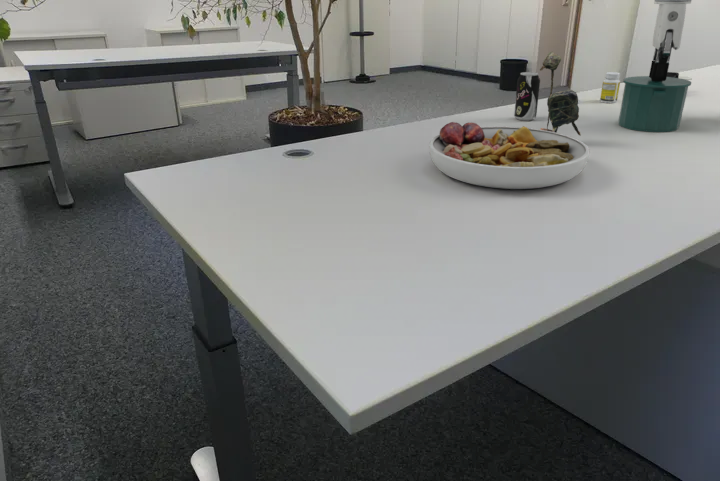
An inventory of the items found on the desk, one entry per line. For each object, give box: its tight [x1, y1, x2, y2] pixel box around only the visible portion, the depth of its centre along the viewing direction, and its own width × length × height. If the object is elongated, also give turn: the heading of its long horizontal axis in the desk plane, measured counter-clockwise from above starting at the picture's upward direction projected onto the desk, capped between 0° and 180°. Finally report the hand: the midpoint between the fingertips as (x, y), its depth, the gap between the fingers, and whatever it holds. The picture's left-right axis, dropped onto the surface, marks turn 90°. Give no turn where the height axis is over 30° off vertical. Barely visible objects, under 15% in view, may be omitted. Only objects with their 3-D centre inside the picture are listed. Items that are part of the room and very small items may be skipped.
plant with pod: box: [539, 51, 582, 137], centre depth 122 cm, size 8×11×20 cm
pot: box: [618, 83, 689, 133], centre depth 136 cm, size 14×19×10 cm
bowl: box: [428, 121, 591, 190], centre depth 107 cm, size 30×30×8 cm
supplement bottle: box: [599, 71, 621, 104], centre depth 165 cm, size 5×5×8 cm
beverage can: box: [513, 71, 541, 122], centre depth 145 cm, size 6×6×12 cm
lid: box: [623, 59, 692, 88], centre depth 133 cm, size 15×15×7 cm
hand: (657, 78), depth 133 cm, fingers open, 3 cm apart
